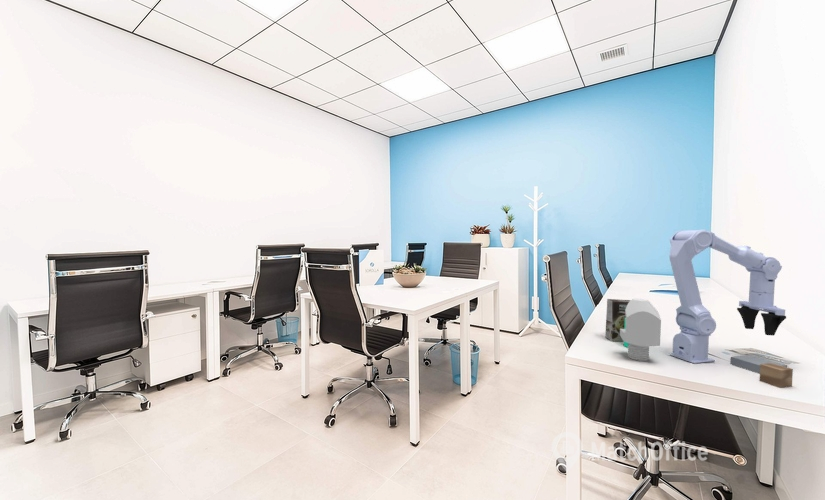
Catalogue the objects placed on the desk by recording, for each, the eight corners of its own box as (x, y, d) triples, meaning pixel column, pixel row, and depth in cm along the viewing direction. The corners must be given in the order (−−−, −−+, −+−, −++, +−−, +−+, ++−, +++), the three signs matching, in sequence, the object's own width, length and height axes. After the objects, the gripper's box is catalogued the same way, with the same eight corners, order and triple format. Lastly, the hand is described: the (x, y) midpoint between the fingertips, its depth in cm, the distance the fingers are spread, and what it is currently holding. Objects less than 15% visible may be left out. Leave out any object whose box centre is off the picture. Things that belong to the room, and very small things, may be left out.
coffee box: (611, 341, 127) (613, 301, 126) (604, 336, 133) (606, 298, 133) (637, 343, 125) (638, 302, 125) (628, 338, 132) (630, 299, 131)
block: (780, 388, 88) (781, 370, 88) (759, 381, 92) (760, 364, 92) (791, 386, 89) (792, 369, 89) (770, 379, 93) (771, 362, 93)
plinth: (766, 375, 96) (766, 367, 96) (730, 364, 105) (730, 356, 105) (787, 373, 98) (787, 365, 98) (750, 362, 107) (750, 354, 107)
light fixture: (650, 355, 112) (652, 298, 111) (659, 365, 103) (661, 303, 102) (619, 351, 115) (621, 296, 115) (625, 360, 107) (627, 301, 106)
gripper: (797, 296, 100) (794, 339, 101) (755, 289, 115) (753, 326, 115) (771, 295, 101) (769, 337, 102) (733, 288, 116) (731, 325, 116)
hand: (759, 331), depth 108 cm, fingers open, 7 cm apart
